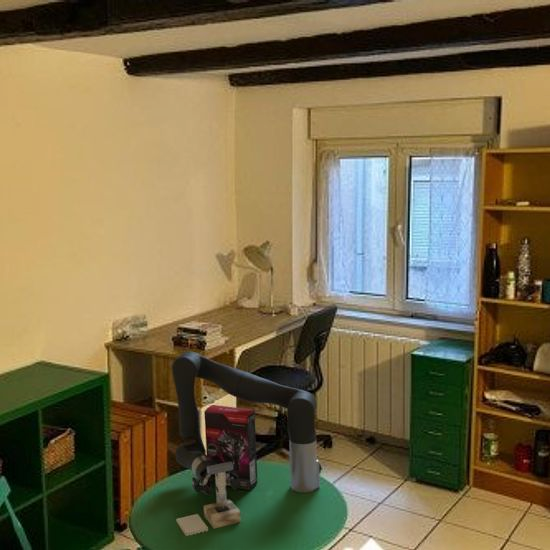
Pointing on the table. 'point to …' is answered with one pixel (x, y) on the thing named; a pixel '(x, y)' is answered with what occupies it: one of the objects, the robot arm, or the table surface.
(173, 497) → the table surface
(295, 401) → the robot arm
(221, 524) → the slot block
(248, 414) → the graphics card box
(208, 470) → the t key
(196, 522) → the beige flat plate
